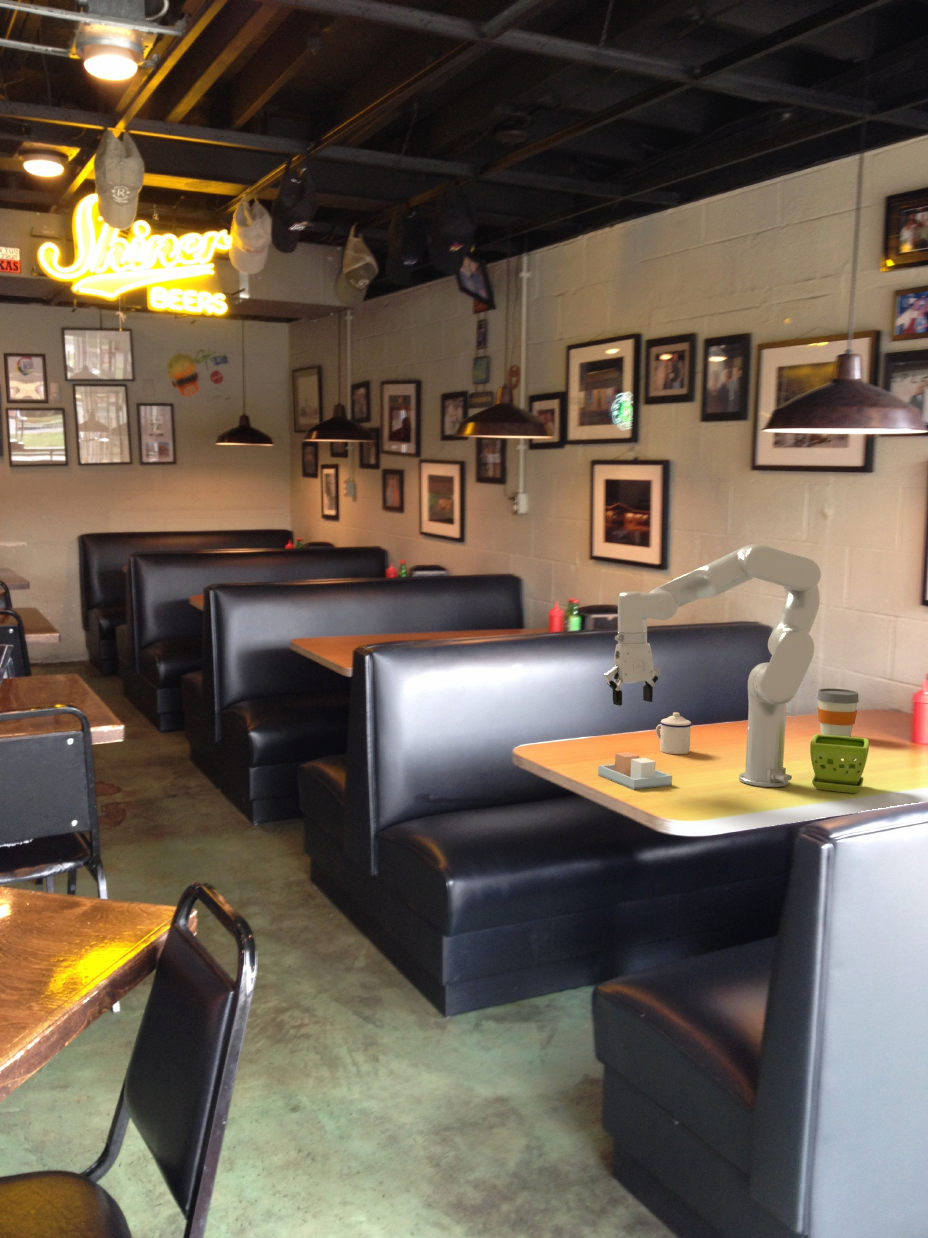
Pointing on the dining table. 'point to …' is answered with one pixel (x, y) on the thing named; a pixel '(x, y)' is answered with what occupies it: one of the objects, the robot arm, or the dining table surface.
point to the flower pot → (838, 762)
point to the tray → (635, 784)
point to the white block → (642, 768)
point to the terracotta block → (624, 762)
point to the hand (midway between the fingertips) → (632, 703)
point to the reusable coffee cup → (837, 711)
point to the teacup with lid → (674, 734)
